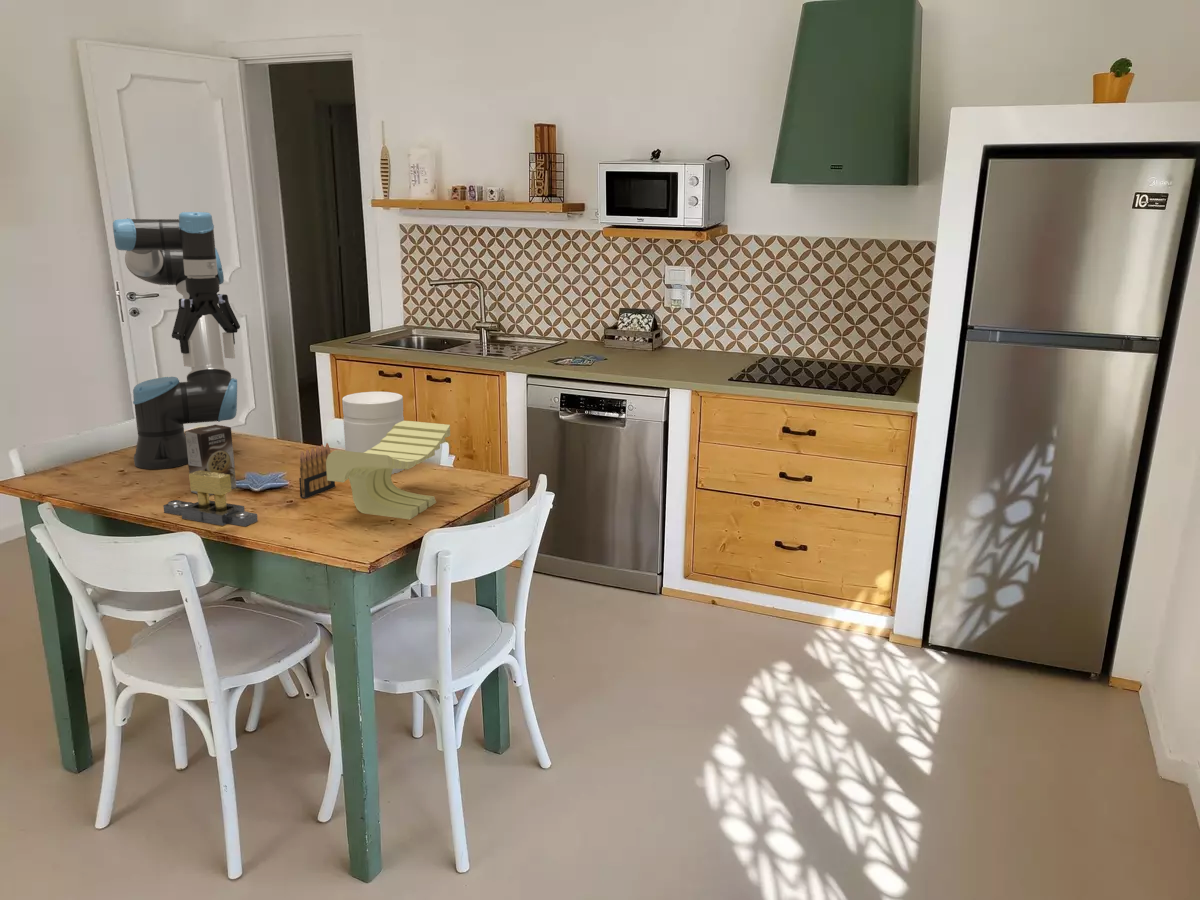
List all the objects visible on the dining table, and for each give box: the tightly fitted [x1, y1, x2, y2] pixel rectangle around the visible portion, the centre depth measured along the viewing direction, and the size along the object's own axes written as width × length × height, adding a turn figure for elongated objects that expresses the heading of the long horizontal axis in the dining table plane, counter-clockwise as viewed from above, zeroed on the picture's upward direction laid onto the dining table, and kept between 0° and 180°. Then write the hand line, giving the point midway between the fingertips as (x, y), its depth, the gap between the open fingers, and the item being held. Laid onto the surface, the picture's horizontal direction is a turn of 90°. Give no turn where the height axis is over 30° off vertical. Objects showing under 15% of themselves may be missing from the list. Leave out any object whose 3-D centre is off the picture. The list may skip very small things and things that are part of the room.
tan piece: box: [188, 470, 233, 512], centre depth 209 cm, size 9×3×10 cm, turn 69°
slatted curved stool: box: [326, 420, 451, 520], centre depth 217 cm, size 30×16×18 cm, turn 162°
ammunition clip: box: [298, 442, 336, 499], centre depth 228 cm, size 11×2×12 cm, turn 154°
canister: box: [341, 391, 405, 475], centre depth 248 cm, size 16×16×20 cm
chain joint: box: [162, 499, 259, 527], centre depth 210 cm, size 24×7×2 cm, turn 69°
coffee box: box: [184, 424, 237, 496], centre depth 228 cm, size 9×6×16 cm
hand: (210, 362), depth 228 cm, fingers open, 13 cm apart
